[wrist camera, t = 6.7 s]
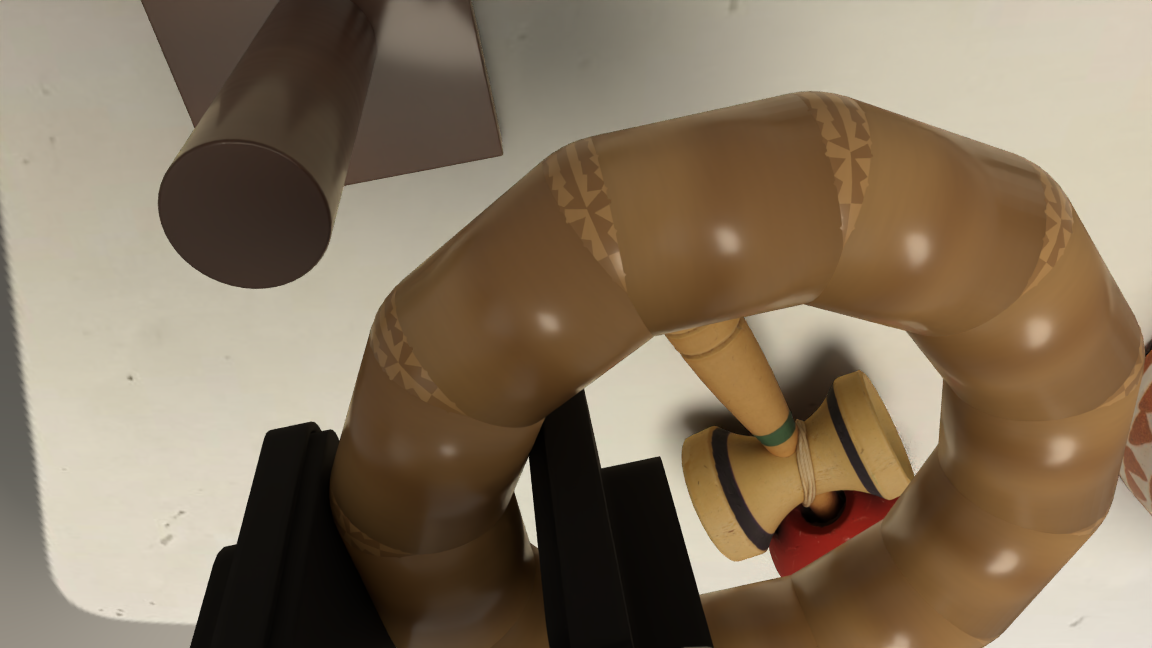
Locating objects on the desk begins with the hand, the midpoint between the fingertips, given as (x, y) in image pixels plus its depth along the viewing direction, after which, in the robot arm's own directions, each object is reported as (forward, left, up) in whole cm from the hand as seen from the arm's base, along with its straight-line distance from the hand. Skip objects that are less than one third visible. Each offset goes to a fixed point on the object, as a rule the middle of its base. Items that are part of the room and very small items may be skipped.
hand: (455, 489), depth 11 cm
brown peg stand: (-2, -3, -17) cm, 17 cm away
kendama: (+13, +8, -17) cm, 23 cm away
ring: (0, +3, +1) cm, 4 cm away
